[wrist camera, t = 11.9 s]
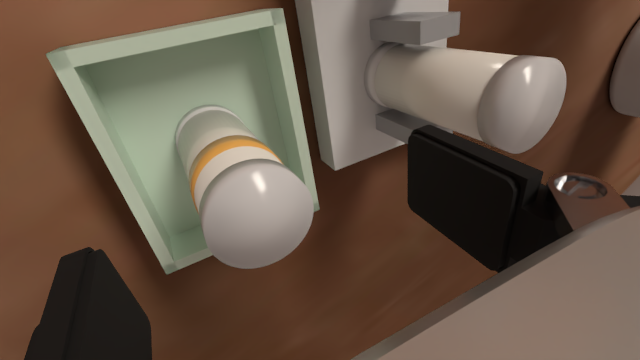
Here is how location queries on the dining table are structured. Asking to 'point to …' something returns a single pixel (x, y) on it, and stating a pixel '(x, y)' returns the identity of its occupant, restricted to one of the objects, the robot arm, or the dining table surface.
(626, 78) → the cylinder vase
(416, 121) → the holder
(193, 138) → the fuse marked
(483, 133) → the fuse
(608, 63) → the dining table surface
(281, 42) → the tray
